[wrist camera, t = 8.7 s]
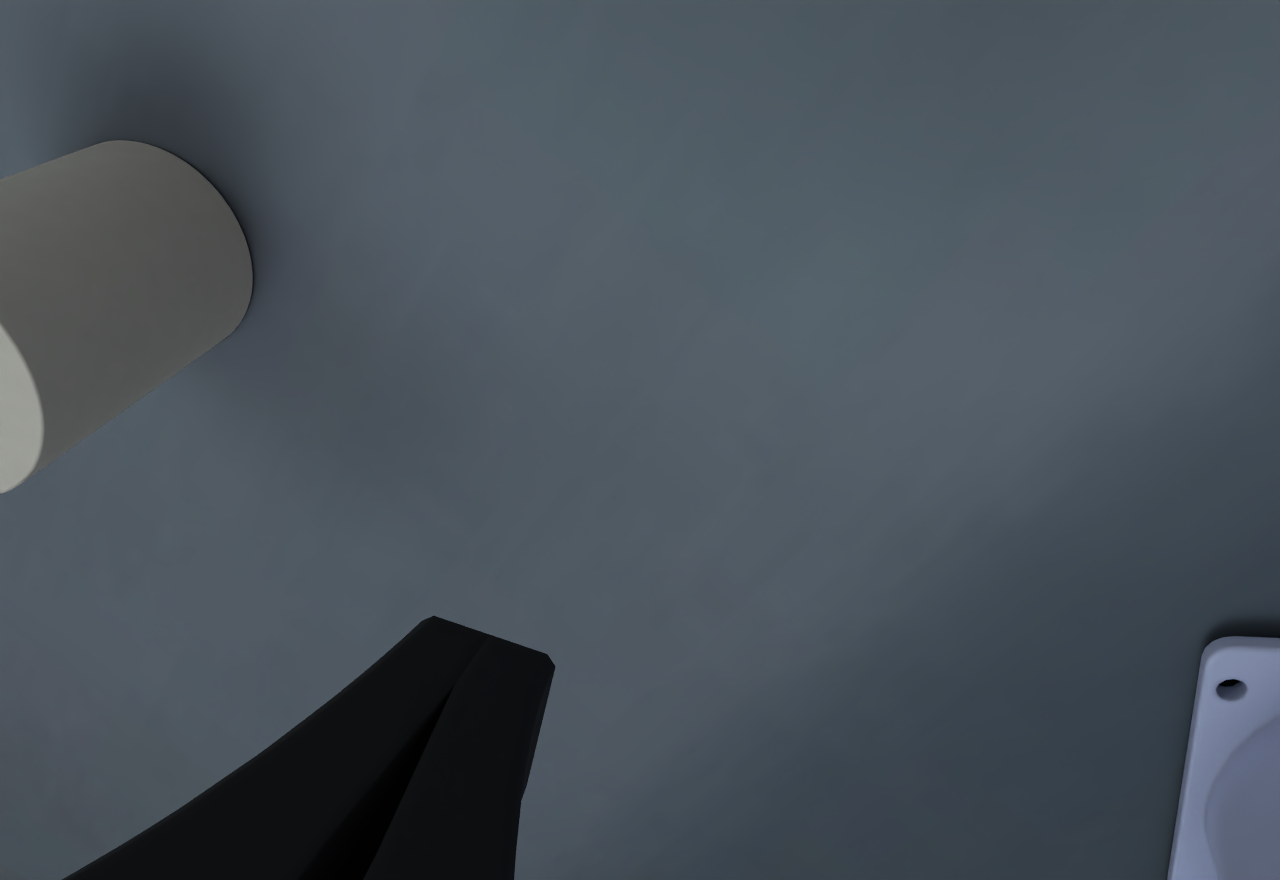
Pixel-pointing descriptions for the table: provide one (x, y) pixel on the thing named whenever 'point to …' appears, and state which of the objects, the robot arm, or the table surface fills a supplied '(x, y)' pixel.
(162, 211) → the paper roll
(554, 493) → the table surface
